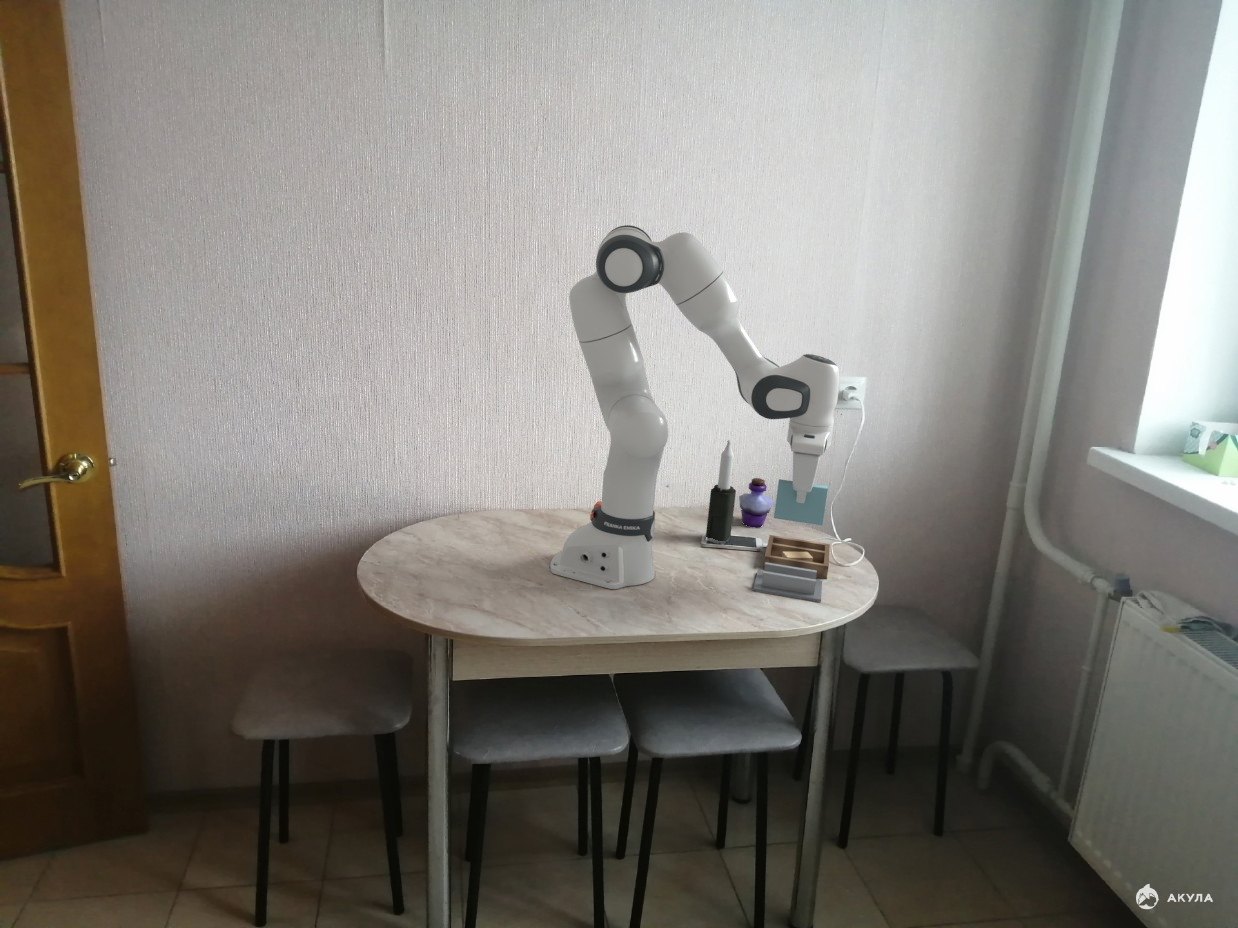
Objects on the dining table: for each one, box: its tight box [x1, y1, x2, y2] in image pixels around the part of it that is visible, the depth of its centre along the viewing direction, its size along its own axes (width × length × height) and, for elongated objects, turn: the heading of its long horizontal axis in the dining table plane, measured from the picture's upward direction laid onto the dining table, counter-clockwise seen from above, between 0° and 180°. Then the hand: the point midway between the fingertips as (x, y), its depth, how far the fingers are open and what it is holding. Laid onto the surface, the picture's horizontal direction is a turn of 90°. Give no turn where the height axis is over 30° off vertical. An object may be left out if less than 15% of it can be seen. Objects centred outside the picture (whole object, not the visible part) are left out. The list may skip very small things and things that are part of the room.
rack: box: [762, 534, 831, 580], centre depth 203 cm, size 14×14×3 cm
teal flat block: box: [773, 479, 829, 526], centre depth 184 cm, size 10×2×8 cm, turn 77°
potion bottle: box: [738, 477, 774, 528], centre depth 224 cm, size 9×9×12 cm
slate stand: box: [752, 562, 823, 603], centre depth 189 cm, size 14×10×4 cm
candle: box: [705, 439, 737, 541], centre depth 209 cm, size 5×5×25 cm
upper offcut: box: [782, 552, 813, 562], centre depth 200 cm, size 6×4×2 cm, turn 100°
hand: (800, 499), depth 184 cm, fingers closed on teal flat block, 2 cm apart
